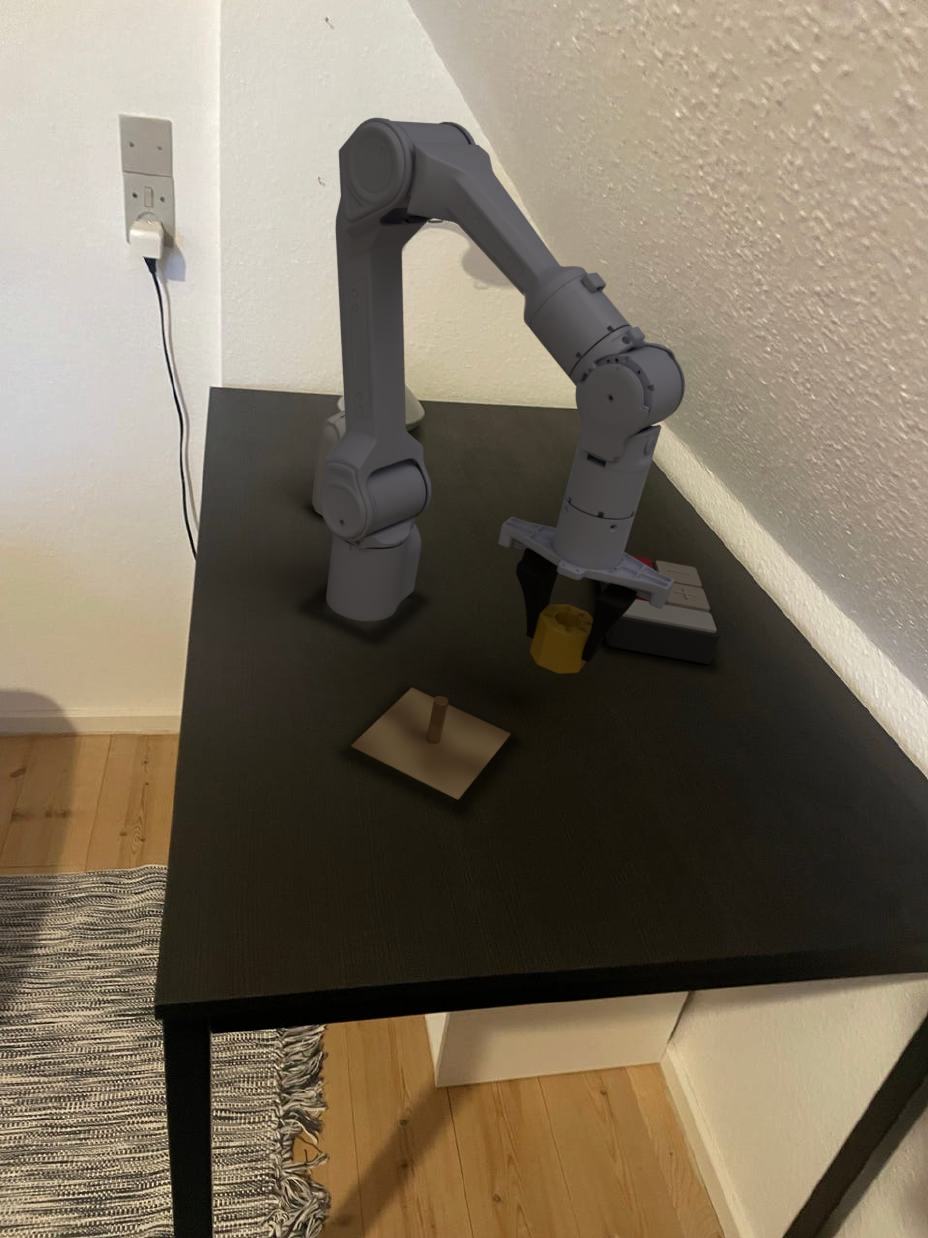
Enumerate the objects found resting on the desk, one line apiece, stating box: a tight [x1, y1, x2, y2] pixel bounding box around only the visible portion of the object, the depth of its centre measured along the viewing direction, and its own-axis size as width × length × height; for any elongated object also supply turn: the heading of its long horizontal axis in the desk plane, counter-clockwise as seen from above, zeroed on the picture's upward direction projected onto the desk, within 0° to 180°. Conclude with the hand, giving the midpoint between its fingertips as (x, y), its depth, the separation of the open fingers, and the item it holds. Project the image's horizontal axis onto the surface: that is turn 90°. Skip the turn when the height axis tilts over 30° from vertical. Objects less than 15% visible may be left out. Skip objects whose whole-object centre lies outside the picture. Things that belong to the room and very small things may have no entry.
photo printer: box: [311, 409, 346, 517], centre depth 110 cm, size 10×4×12 cm, turn 137°
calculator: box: [599, 554, 721, 665], centre depth 103 cm, size 11×4×15 cm
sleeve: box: [529, 603, 593, 675], centre depth 81 cm, size 5×5×4 cm
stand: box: [350, 687, 511, 800], centre depth 78 cm, size 10×10×5 cm
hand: (560, 643), depth 81 cm, fingers closed on sleeve, 4 cm apart
